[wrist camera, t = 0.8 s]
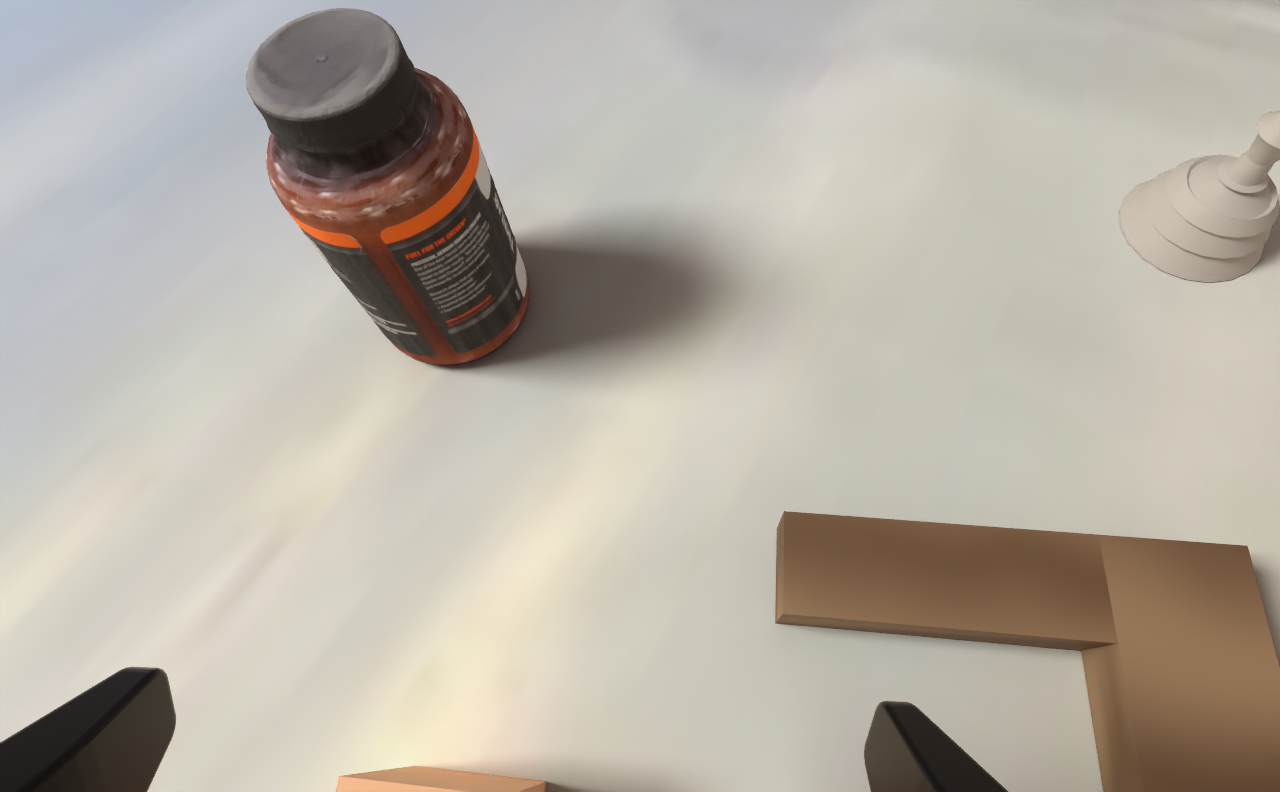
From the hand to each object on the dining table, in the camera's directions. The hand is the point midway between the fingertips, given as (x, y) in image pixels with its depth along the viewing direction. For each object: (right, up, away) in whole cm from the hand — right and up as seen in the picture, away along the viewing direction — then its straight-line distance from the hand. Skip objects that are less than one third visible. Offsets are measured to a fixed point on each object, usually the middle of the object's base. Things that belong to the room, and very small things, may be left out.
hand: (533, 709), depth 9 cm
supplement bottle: (-6, +8, +19) cm, 21 cm away
